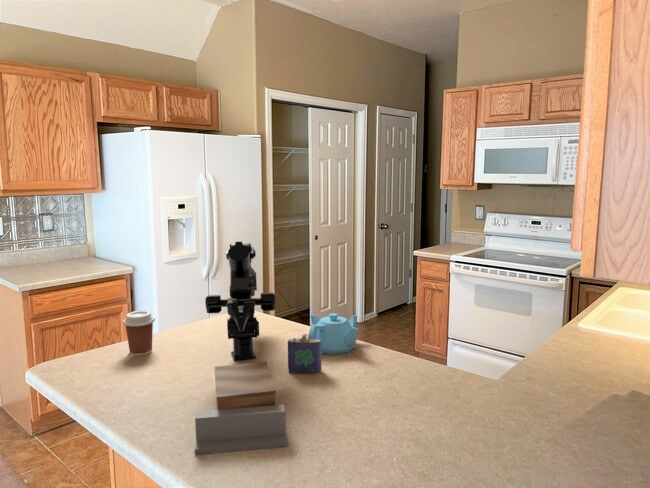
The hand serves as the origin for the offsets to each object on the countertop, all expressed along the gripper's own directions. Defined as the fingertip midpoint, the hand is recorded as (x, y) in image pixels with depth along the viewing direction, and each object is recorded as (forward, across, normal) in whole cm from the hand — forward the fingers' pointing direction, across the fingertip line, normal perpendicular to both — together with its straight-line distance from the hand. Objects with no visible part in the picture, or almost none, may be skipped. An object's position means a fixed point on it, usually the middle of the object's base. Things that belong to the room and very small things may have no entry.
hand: (241, 330), depth 133 cm
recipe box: (+24, +1, -6) cm, 25 cm away
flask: (+9, +17, +9) cm, 21 cm away
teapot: (-3, +28, +21) cm, 35 cm away
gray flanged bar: (+32, 0, -15) cm, 36 cm away
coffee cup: (-7, -31, +25) cm, 41 cm away
